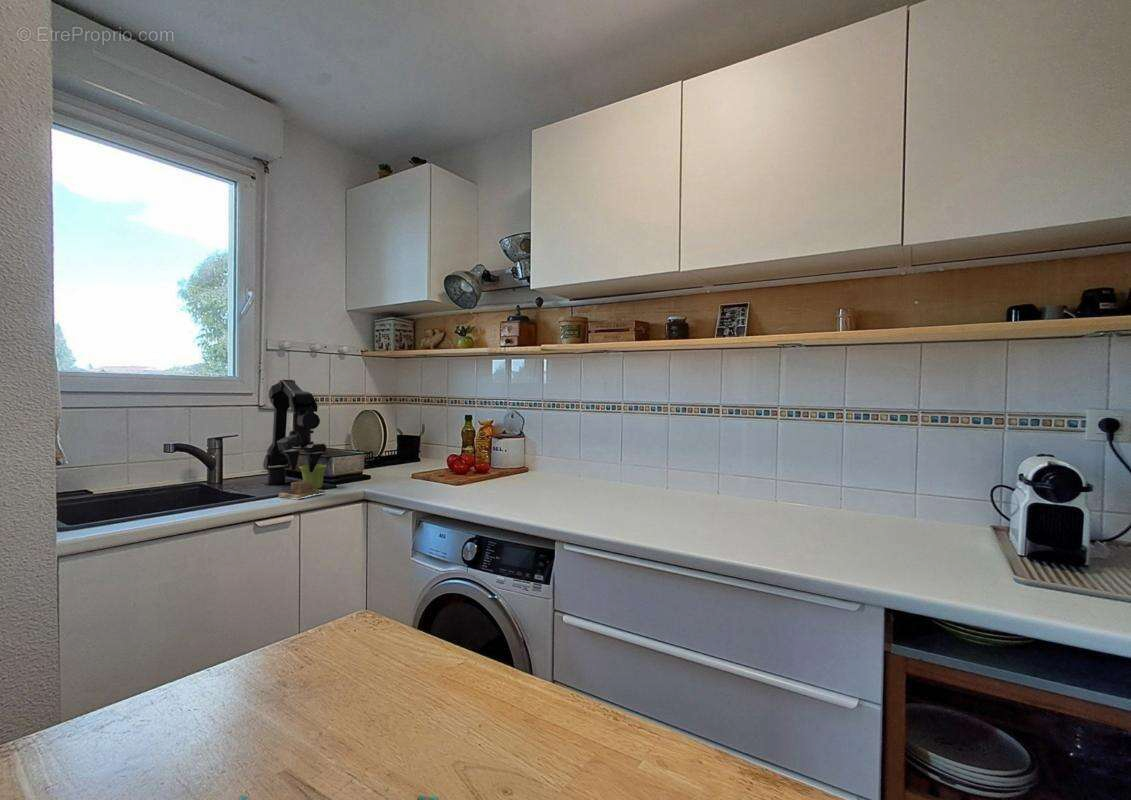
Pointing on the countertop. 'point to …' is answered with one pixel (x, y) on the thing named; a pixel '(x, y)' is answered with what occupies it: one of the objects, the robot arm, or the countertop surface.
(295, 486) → the walnut cube
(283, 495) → the oak bay
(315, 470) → the plant pot
